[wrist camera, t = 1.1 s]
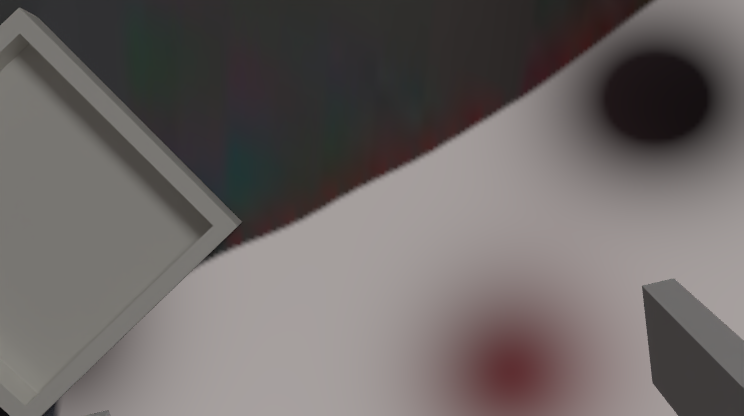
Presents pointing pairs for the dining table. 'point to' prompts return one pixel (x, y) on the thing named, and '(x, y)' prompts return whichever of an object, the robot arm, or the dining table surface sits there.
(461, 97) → the dining table surface
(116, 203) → the tray
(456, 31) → the dining table surface
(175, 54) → the dining table surface
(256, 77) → the dining table surface
